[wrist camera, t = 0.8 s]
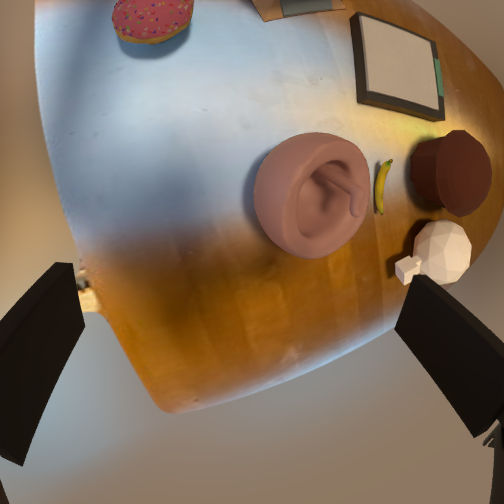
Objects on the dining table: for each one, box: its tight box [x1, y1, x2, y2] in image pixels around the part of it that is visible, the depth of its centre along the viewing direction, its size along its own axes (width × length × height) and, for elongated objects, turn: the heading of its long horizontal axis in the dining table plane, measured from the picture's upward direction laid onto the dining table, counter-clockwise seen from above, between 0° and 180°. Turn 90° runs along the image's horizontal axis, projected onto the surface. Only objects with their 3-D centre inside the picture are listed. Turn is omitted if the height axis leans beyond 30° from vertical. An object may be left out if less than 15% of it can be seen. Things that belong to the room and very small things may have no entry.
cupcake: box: [112, 0, 194, 45], centre depth 19 cm, size 9×8×12 cm
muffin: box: [410, 130, 492, 217], centre depth 31 cm, size 12×11×10 cm
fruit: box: [375, 159, 393, 215], centre depth 33 cm, size 7×1×3 cm, turn 179°
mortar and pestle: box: [254, 132, 370, 259], centre depth 27 cm, size 12×12×11 cm
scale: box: [350, 12, 445, 122], centre depth 29 cm, size 13×14×3 cm
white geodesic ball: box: [395, 219, 471, 285], centre depth 34 cm, size 9×9×12 cm
